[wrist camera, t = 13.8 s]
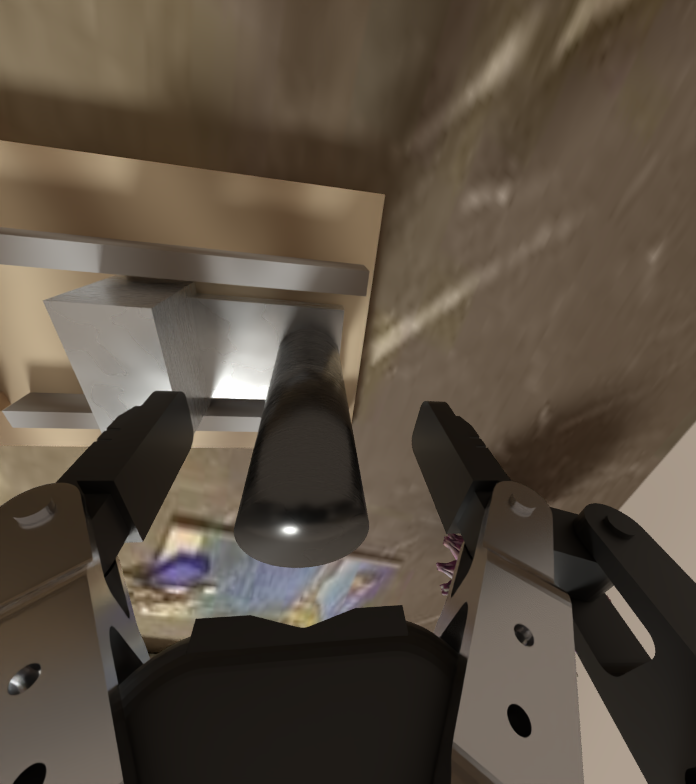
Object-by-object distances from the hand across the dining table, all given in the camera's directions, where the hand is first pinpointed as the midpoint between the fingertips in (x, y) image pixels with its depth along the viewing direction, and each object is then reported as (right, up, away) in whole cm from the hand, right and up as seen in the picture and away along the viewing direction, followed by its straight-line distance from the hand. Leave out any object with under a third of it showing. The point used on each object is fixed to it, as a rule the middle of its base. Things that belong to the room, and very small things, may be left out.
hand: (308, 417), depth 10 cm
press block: (-4, +3, +4) cm, 7 cm away
